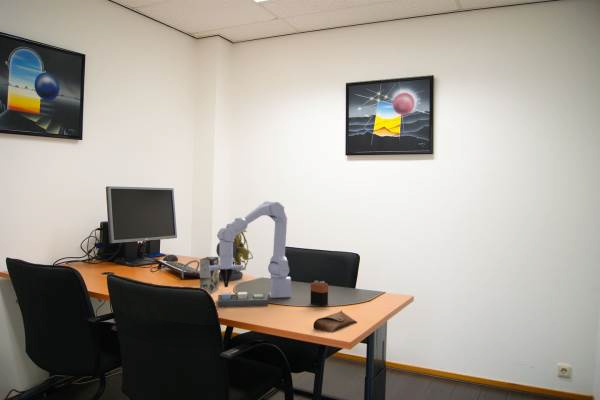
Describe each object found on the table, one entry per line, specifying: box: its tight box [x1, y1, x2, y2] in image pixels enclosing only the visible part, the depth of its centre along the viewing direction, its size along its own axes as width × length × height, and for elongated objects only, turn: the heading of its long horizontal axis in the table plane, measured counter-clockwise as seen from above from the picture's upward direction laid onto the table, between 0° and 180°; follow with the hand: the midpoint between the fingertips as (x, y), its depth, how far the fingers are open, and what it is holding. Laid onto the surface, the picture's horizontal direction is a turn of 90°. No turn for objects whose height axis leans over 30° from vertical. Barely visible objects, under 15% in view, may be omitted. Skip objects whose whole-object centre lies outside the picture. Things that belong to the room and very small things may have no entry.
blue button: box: [221, 292, 232, 299], centre depth 212 cm, size 4×4×3 cm
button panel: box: [217, 293, 269, 308], centre depth 213 cm, size 21×12×2 cm, turn 99°
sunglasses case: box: [313, 310, 358, 334], centre depth 181 cm, size 18×7×7 cm
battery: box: [310, 280, 329, 307], centre depth 212 cm, size 4×7×10 cm, turn 47°
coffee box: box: [199, 256, 220, 294], centre depth 235 cm, size 9×6×16 cm
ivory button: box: [237, 291, 248, 299], centre depth 213 cm, size 4×4×3 cm
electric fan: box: [181, 223, 254, 282], centre depth 262 cm, size 26×32×30 cm
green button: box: [253, 293, 263, 298], centre depth 214 cm, size 4×4×3 cm
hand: (226, 286), depth 211 cm, fingers closed
